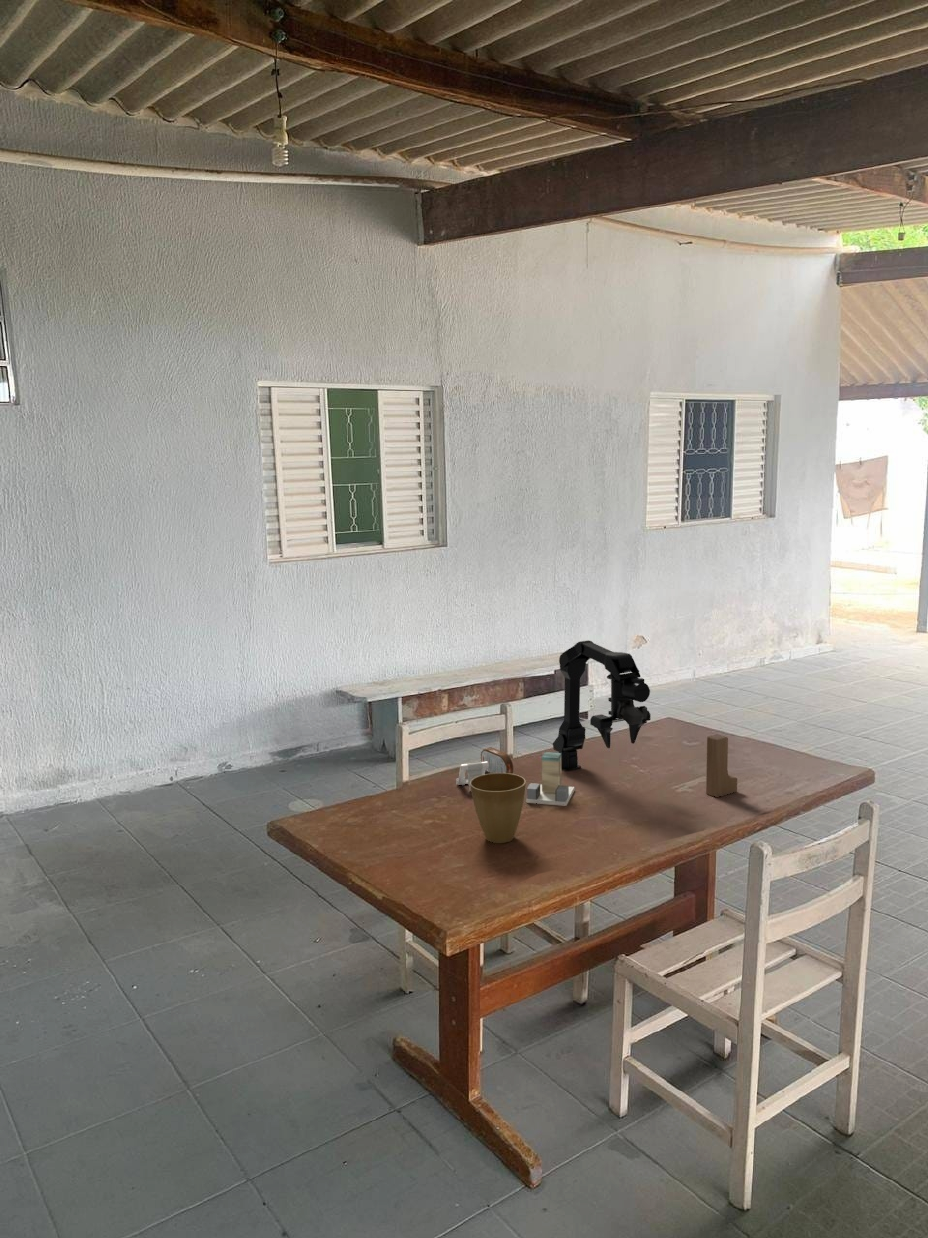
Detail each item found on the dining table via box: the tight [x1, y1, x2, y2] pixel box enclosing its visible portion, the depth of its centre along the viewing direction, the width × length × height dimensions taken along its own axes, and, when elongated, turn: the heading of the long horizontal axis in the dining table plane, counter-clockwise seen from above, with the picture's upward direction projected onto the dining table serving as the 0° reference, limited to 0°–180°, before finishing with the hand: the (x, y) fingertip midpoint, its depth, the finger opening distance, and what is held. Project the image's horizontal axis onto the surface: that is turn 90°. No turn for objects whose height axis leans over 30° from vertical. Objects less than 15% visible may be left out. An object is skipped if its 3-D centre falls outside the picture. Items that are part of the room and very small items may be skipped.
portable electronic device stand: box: [455, 761, 489, 792], centre depth 289 cm, size 9×8×8 cm
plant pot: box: [470, 773, 527, 844], centre depth 247 cm, size 15×15×16 cm
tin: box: [480, 746, 514, 774], centre depth 300 cm, size 15×3×8 cm, turn 34°
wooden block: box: [705, 733, 738, 798], centre depth 277 cm, size 9×4×18 cm, turn 123°
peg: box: [541, 751, 563, 793], centre depth 280 cm, size 5×5×11 cm
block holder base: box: [525, 782, 575, 807], centre depth 279 cm, size 14×12×4 cm
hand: (620, 745), depth 280 cm, fingers open, 9 cm apart
